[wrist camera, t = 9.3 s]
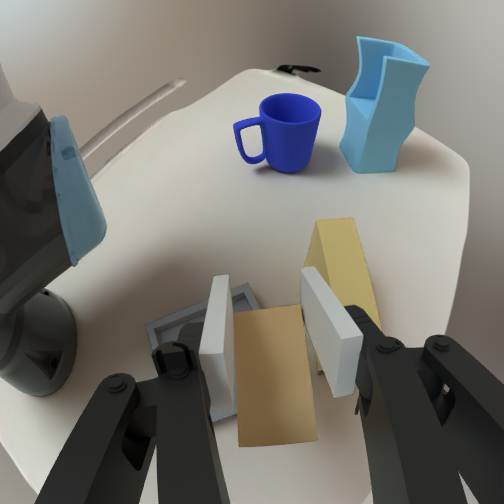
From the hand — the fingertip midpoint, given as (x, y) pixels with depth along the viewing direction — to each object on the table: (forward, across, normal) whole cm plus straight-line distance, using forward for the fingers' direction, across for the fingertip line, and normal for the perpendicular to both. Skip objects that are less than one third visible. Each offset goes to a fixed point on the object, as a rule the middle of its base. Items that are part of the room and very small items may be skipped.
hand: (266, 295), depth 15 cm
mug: (+31, +5, +7) cm, 32 cm away
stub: (+3, +1, -11) cm, 11 cm away
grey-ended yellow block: (+13, +7, -10) cm, 18 cm away
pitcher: (+31, +20, +8) cm, 38 cm away
